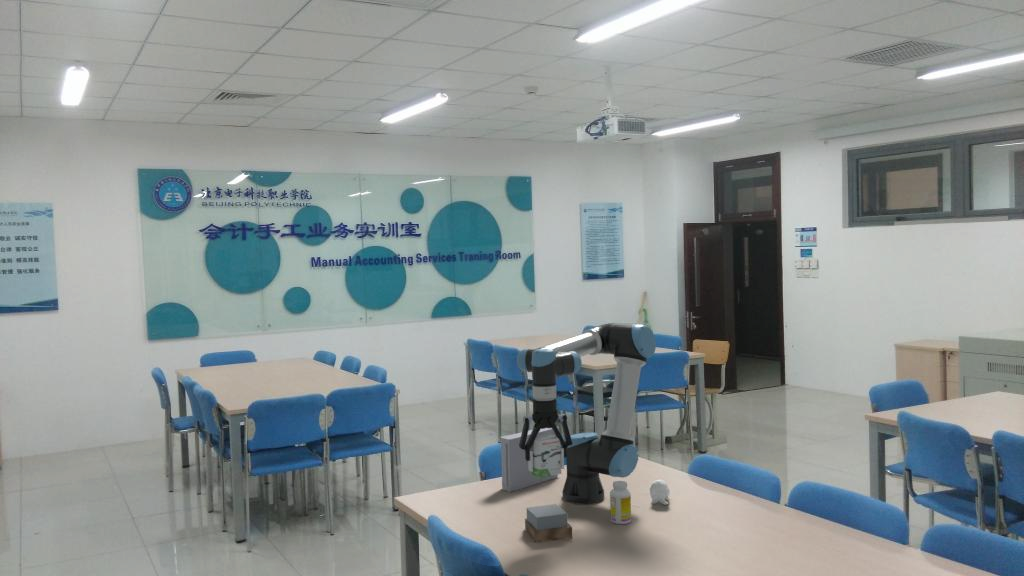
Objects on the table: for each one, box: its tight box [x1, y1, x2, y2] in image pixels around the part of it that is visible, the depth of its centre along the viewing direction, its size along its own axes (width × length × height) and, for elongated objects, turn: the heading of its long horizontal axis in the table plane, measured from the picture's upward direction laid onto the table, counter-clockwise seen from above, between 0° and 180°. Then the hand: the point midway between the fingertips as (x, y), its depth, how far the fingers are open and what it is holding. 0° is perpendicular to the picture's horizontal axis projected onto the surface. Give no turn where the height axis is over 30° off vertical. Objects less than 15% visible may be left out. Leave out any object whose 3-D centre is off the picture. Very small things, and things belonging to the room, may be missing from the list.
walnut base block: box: [524, 517, 573, 543], centre depth 240 cm, size 12×12×4 cm
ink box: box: [531, 434, 562, 478], centre depth 239 cm, size 9×5×12 cm, turn 123°
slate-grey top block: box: [526, 503, 568, 530], centre depth 240 cm, size 10×10×4 cm
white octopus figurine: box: [649, 479, 671, 506], centre depth 269 cm, size 6×8×12 cm
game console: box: [500, 426, 560, 493], centre depth 294 cm, size 6×27×20 cm, turn 133°
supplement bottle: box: [609, 480, 632, 525], centre depth 249 cm, size 7×7×13 cm
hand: (546, 469), depth 239 cm, fingers closed on ink box, 9 cm apart
